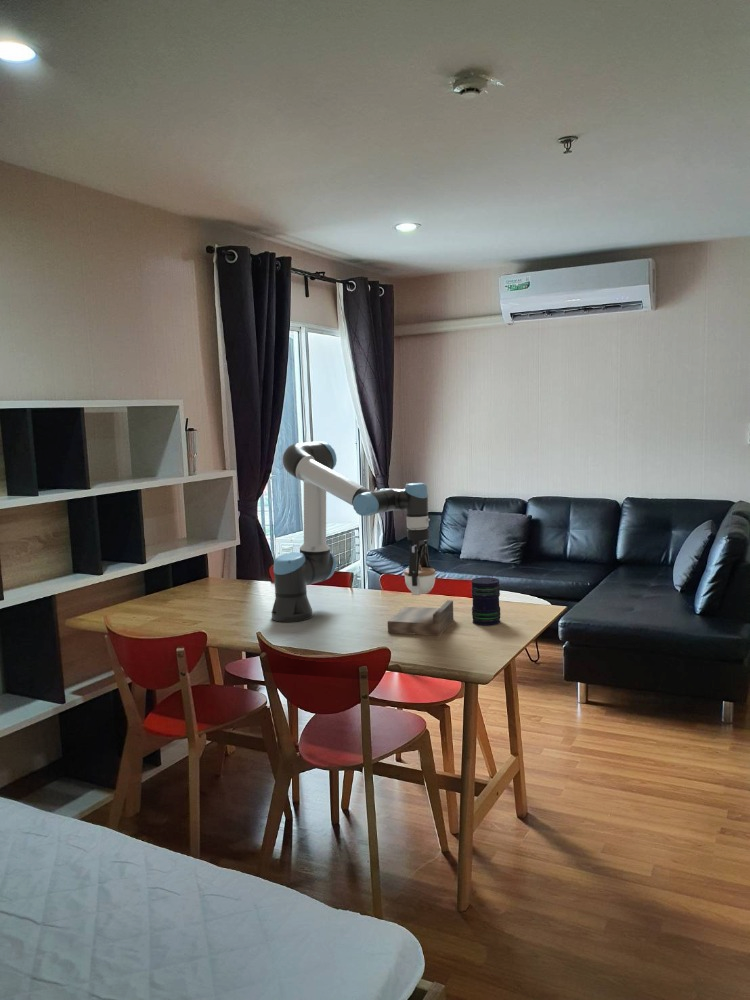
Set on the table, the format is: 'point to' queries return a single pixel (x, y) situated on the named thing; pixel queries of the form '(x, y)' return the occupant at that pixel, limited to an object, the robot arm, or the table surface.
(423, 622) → the riser block
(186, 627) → the table surface
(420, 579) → the lidded jar
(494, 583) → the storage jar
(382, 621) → the table surface
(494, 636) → the table surface
